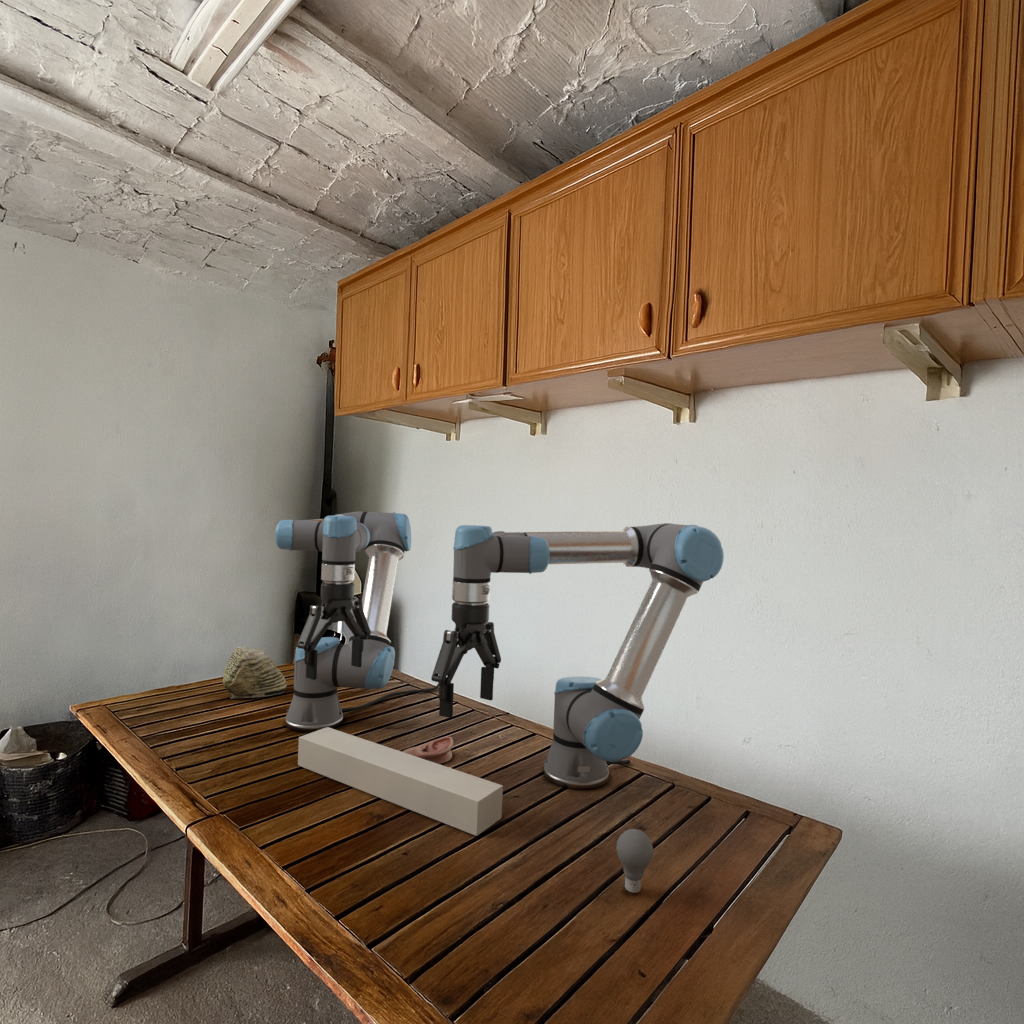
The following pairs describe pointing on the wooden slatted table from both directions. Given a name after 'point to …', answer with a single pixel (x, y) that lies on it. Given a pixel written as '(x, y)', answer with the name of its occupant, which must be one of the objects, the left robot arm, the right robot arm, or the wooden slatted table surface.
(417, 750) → the anatomical model
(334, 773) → the thick board
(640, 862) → the light bulb
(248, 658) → the fossil
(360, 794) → the wooden slatted table surface
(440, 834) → the wooden slatted table surface
